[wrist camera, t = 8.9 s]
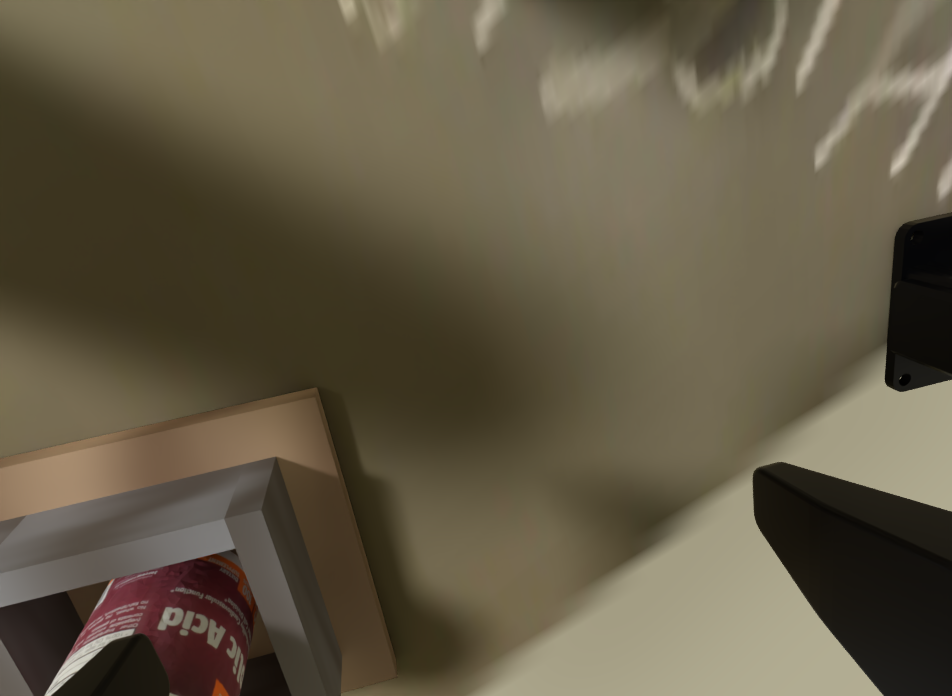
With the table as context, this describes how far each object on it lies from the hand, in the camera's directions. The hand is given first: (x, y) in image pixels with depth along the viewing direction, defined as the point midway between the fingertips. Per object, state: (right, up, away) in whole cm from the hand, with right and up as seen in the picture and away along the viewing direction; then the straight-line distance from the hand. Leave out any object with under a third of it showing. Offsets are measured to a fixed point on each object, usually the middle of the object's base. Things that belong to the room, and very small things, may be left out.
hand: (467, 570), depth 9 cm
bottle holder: (-10, -5, +12) cm, 17 cm away
